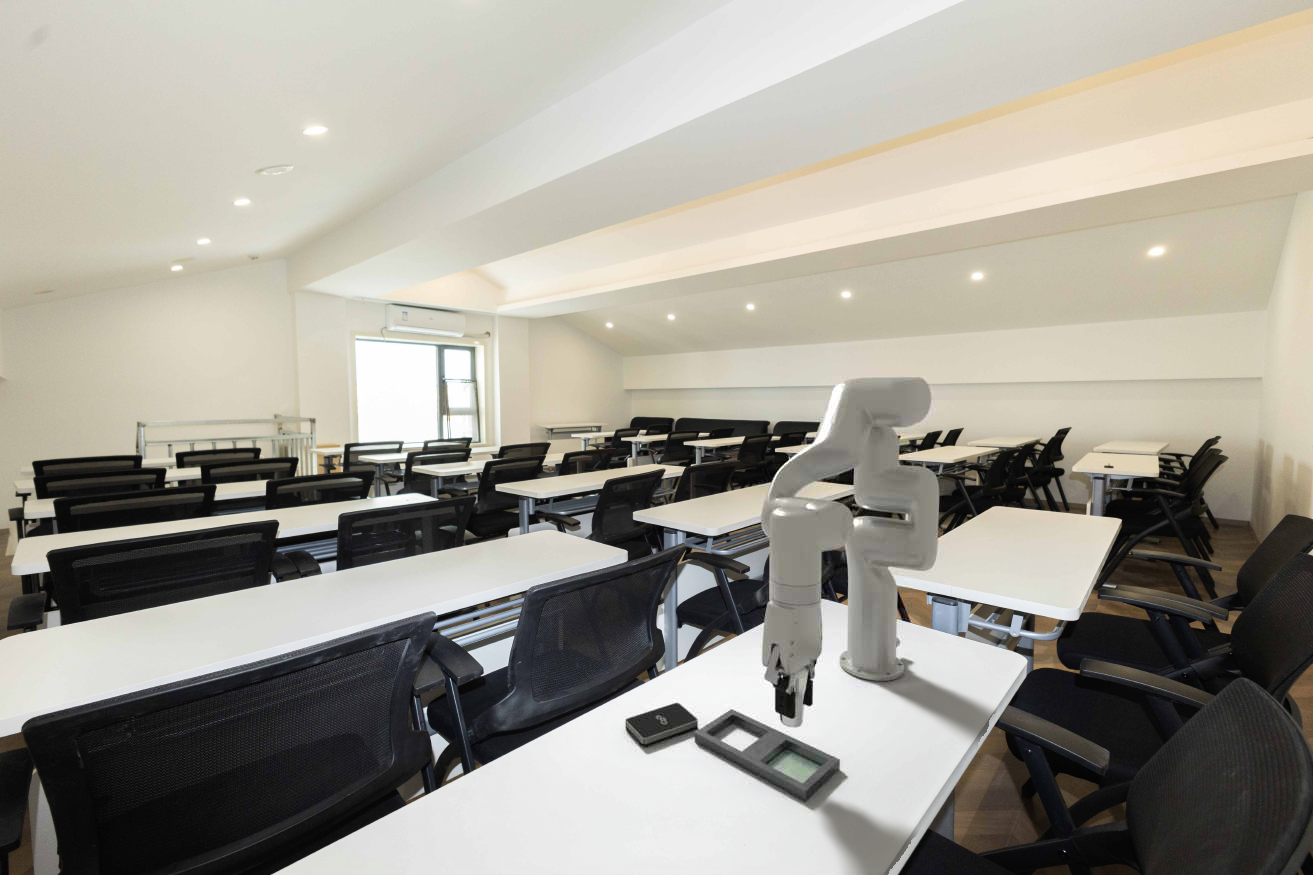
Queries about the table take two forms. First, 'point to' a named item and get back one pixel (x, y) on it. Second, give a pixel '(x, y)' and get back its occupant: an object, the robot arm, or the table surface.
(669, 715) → the external hard drive
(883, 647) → the robot arm
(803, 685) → the milkshake
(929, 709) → the table surface
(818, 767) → the two-slot gray tray
